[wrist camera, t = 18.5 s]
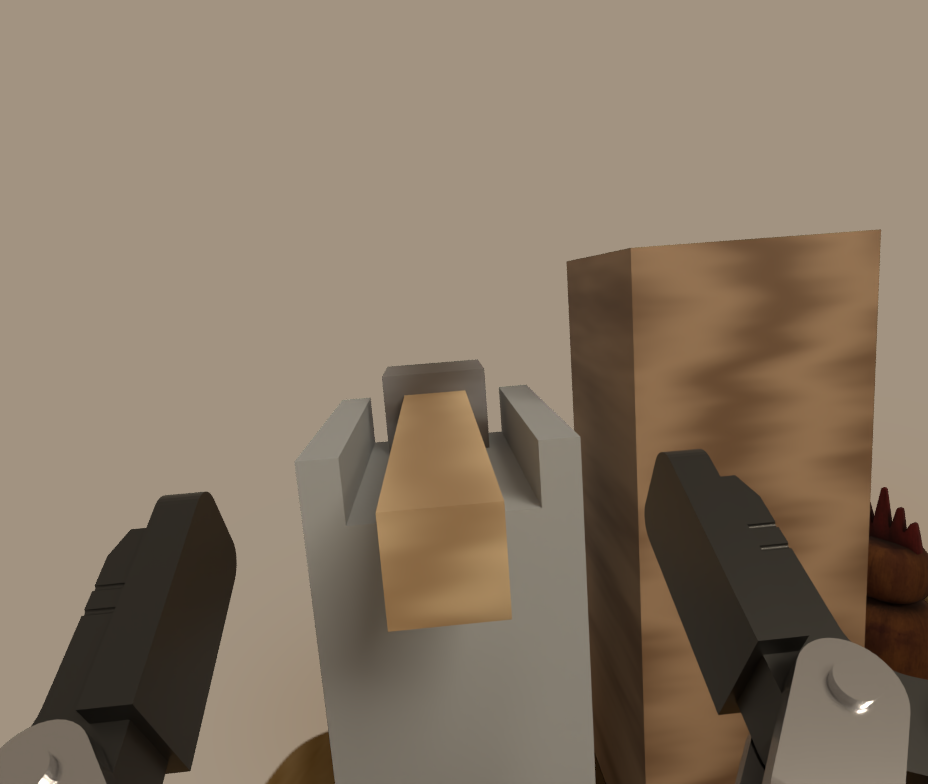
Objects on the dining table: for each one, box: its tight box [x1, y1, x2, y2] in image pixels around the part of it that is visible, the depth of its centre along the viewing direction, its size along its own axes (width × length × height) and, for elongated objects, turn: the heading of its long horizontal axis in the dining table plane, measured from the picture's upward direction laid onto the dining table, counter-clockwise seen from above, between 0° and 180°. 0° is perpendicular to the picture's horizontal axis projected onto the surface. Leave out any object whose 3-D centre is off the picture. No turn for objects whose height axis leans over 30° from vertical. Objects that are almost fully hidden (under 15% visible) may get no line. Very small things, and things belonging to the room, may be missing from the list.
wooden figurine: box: [864, 487, 928, 680], centre depth 39 cm, size 7×6×15 cm
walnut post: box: [567, 230, 881, 784], centre depth 32 cm, size 10×11×30 cm
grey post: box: [295, 385, 596, 784], centre depth 29 cm, size 10×12×24 cm
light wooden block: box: [376, 360, 512, 632], centre depth 24 cm, size 5×20×4 cm, turn 3°
